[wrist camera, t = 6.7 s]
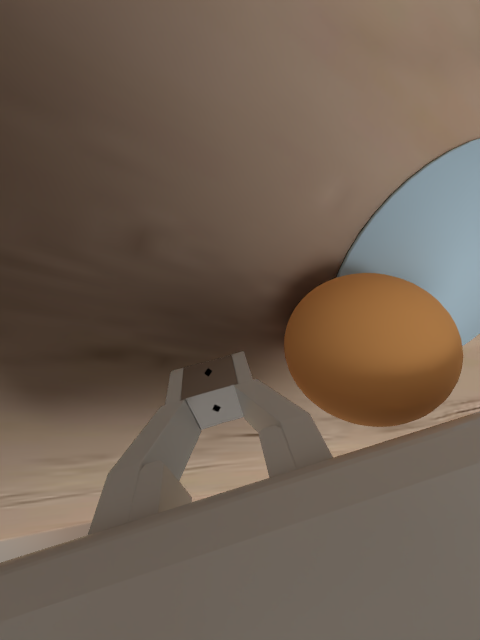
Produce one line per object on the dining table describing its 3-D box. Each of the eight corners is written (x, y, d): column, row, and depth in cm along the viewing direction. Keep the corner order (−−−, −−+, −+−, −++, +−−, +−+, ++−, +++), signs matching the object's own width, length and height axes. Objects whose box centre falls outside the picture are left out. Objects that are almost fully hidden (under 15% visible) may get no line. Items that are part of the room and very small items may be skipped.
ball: (566, 300, 3) (429, 244, 8) (253, 321, 6) (285, 269, 10) (488, 487, 5) (415, 359, 10) (285, 446, 8) (300, 358, 12)
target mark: (333, 171, 7) (336, 170, 7) (629, 103, 8) (639, 100, 8) (324, 393, 13) (326, 396, 13) (488, 345, 14) (492, 347, 14)
